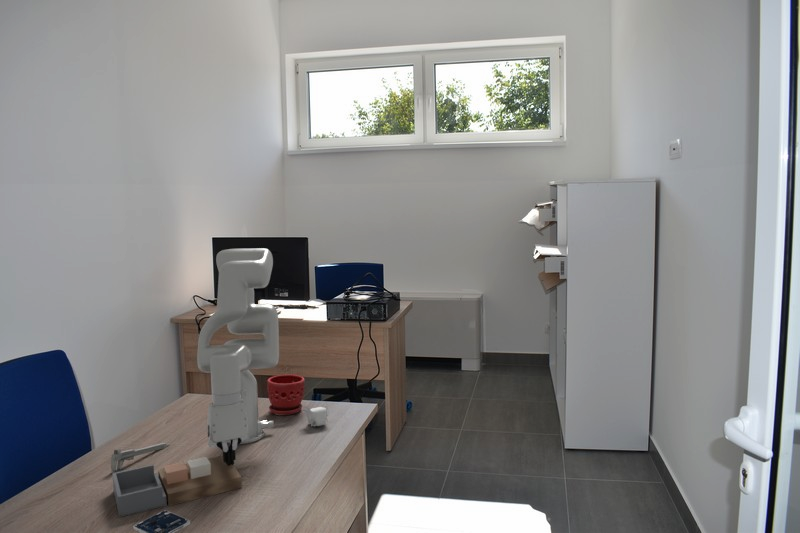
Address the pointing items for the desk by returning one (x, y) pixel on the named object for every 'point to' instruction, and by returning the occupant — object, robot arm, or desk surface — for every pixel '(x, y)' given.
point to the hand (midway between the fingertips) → (229, 463)
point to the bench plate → (202, 483)
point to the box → (138, 490)
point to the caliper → (131, 455)
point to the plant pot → (285, 394)
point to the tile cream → (198, 467)
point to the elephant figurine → (316, 415)
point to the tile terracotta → (175, 473)
